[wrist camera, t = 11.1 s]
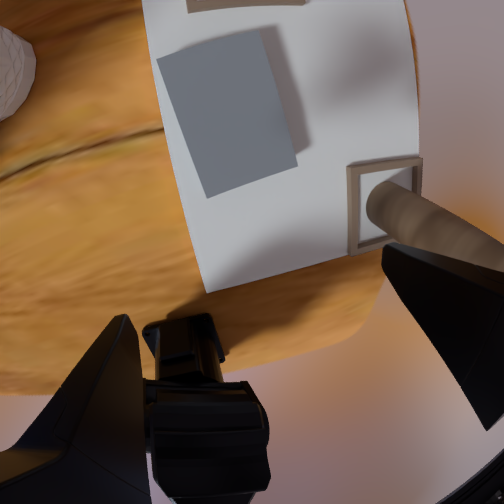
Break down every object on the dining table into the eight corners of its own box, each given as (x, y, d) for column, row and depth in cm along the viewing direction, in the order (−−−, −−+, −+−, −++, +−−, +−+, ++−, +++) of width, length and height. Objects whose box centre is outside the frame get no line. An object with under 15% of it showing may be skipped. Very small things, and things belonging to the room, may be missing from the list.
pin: (400, 220, 25) (507, 300, 13) (365, 229, 24) (474, 324, 13) (402, 178, 23) (526, 246, 11) (365, 185, 22) (495, 265, 11)
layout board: (406, 229, 27) (418, 238, 25) (205, 284, 24) (207, 298, 23) (380, -48, 13) (393, -54, 11) (137, -54, 10) (134, -65, 9)
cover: (287, 160, 20) (298, 166, 18) (204, 189, 19) (207, 198, 18) (250, 36, 15) (258, 29, 13) (158, 64, 15) (156, 59, 13)
